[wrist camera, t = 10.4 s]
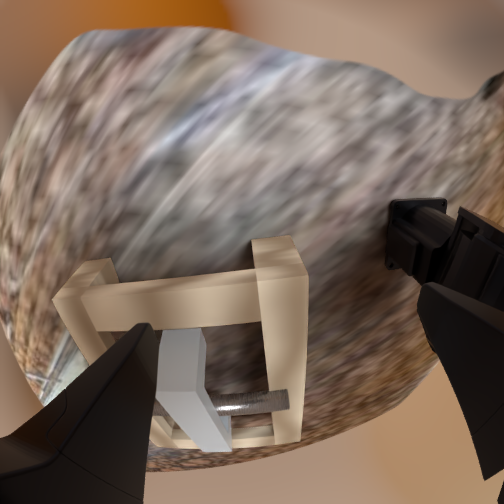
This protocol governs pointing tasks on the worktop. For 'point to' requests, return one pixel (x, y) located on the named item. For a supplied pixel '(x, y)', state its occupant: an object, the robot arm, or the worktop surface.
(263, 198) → the worktop surface
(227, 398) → the rod
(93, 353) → the shelf
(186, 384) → the long white beam
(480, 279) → the robot arm
